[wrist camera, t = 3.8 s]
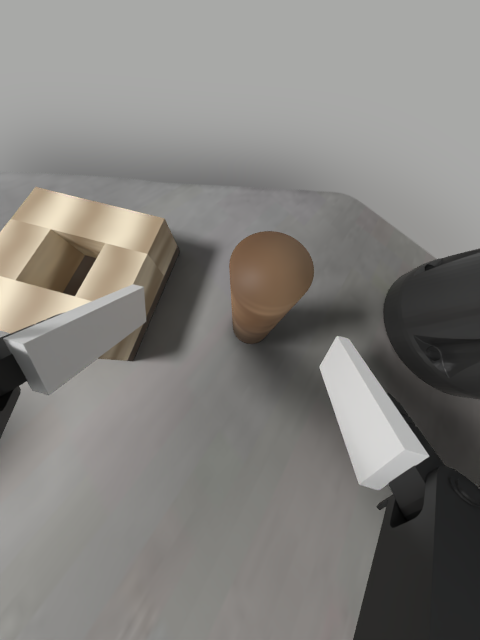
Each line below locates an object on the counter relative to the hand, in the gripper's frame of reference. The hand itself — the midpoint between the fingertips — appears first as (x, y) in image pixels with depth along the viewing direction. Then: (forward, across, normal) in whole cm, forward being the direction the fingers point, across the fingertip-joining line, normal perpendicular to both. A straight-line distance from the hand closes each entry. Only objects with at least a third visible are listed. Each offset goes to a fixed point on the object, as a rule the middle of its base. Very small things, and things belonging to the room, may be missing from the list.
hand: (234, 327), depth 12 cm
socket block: (+7, -17, -3) cm, 19 cm away
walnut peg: (+7, +1, -4) cm, 8 cm away
